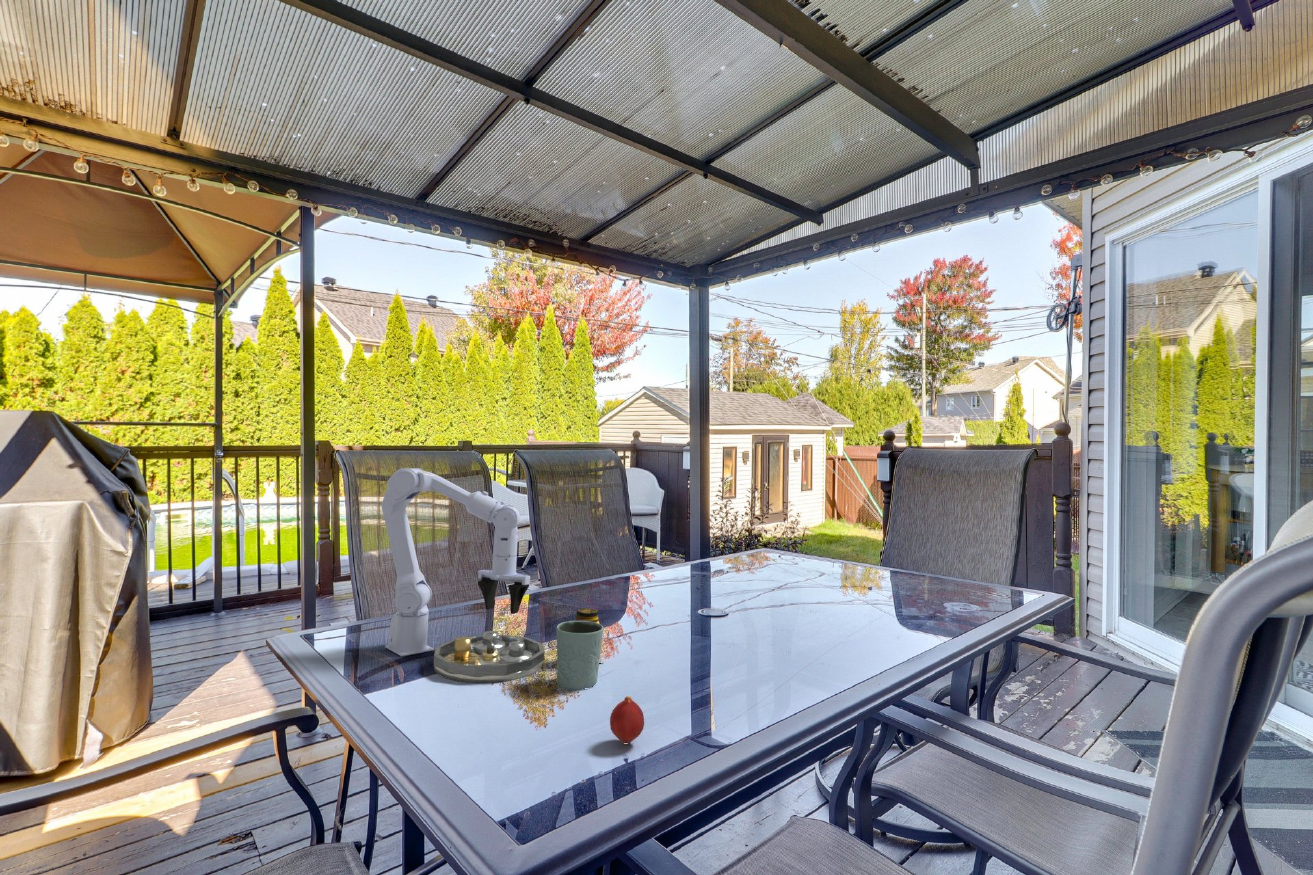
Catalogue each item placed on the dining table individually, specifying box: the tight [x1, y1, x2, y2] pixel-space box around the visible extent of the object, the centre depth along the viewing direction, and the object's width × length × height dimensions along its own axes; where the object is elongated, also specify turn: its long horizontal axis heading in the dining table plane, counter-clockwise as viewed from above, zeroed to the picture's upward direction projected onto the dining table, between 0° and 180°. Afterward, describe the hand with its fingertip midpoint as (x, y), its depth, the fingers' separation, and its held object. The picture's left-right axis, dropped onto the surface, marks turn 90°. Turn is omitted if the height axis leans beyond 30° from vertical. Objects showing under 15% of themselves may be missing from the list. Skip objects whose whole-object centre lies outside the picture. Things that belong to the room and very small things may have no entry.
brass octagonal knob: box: [445, 636, 480, 665], centre depth 138 cm, size 7×7×6 cm
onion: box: [609, 695, 645, 744], centre depth 105 cm, size 6×6×8 cm
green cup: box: [555, 620, 604, 691], centre depth 133 cm, size 10×10×12 cm
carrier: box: [433, 630, 546, 684], centre depth 143 cm, size 24×24×6 cm
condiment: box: [575, 607, 600, 624], centre depth 148 cm, size 7×8×12 cm
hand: (501, 610), depth 153 cm, fingers open, 7 cm apart
